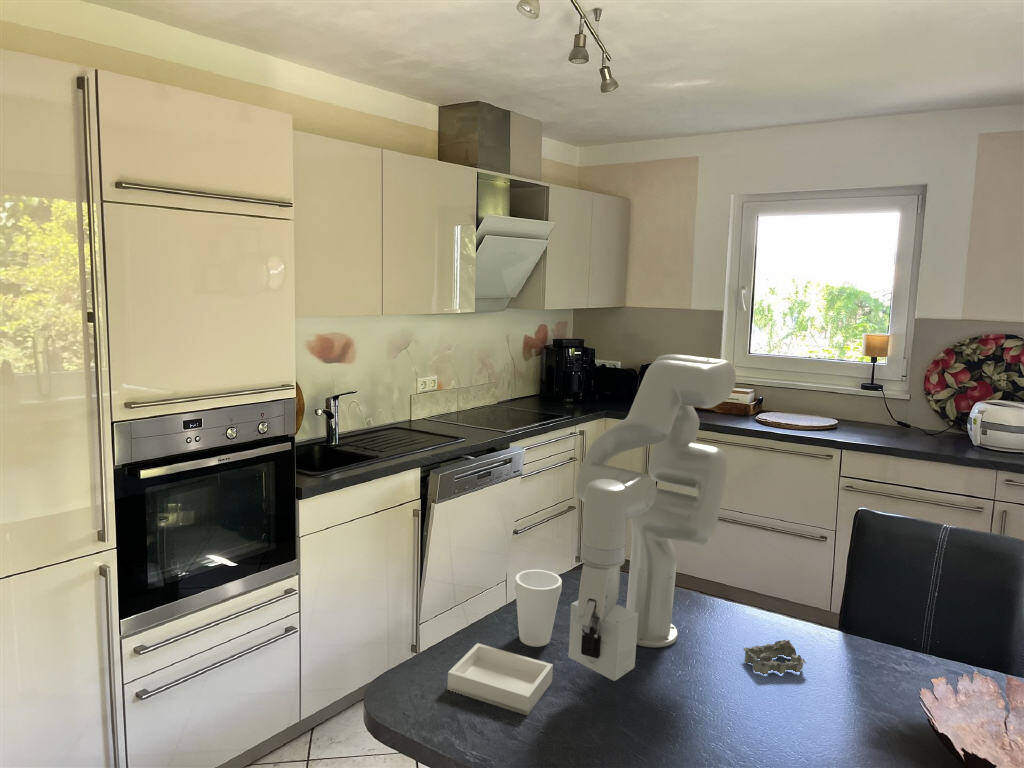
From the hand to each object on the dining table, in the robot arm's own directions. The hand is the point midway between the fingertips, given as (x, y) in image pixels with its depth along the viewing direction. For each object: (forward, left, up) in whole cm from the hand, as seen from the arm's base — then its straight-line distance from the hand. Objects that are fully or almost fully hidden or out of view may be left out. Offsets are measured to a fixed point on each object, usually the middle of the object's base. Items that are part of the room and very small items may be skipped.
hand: (597, 643), depth 131 cm
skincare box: (0, +1, -3) cm, 4 cm away
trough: (+5, -16, -10) cm, 20 cm away
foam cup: (-14, -17, -11) cm, 24 cm away
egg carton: (-27, +28, -11) cm, 41 cm away
